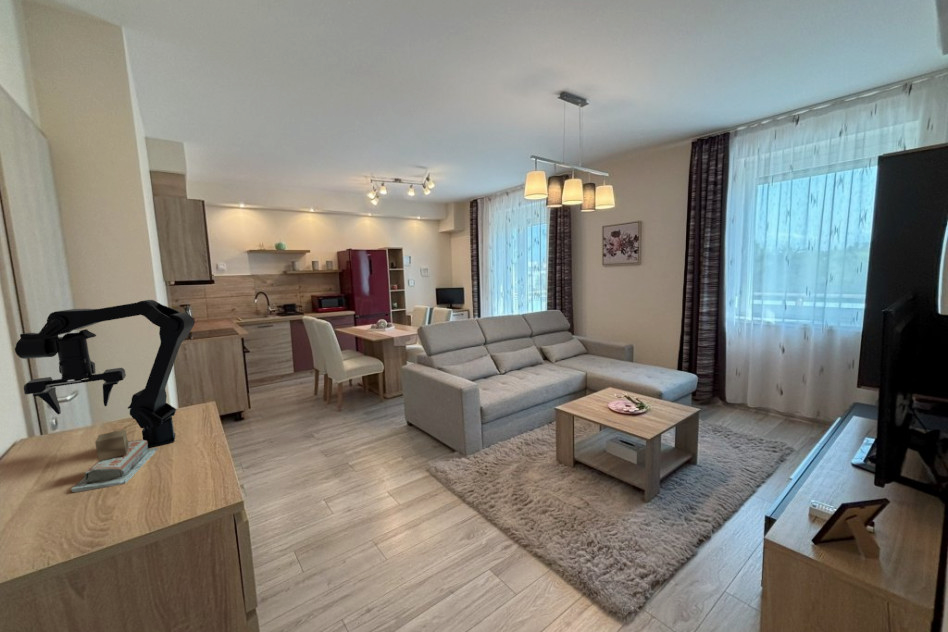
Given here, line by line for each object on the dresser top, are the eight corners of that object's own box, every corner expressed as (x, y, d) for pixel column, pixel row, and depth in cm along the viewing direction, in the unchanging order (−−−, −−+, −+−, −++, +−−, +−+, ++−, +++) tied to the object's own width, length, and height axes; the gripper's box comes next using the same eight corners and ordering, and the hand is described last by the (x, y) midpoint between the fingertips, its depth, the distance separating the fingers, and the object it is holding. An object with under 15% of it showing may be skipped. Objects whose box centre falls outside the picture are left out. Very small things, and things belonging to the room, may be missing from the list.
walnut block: (128, 447, 98) (125, 429, 98) (126, 454, 94) (123, 435, 94) (102, 453, 95) (99, 434, 95) (98, 461, 92) (95, 442, 91)
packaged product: (111, 441, 102) (156, 435, 105) (113, 458, 102) (158, 451, 106) (67, 476, 85) (123, 467, 89) (71, 495, 86) (126, 486, 89)
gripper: (124, 345, 114) (132, 394, 116) (33, 355, 103) (43, 409, 106) (118, 352, 105) (126, 405, 107) (17, 363, 94) (29, 422, 97)
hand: (83, 409), depth 105 cm, fingers open, 9 cm apart
